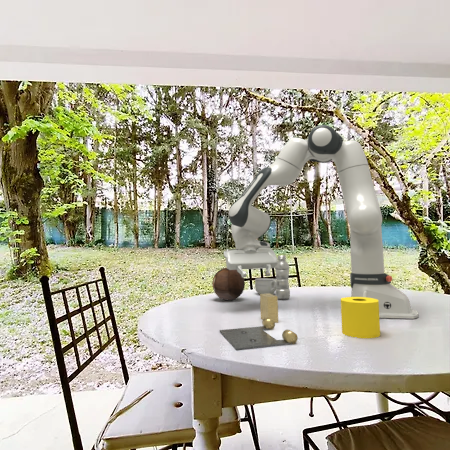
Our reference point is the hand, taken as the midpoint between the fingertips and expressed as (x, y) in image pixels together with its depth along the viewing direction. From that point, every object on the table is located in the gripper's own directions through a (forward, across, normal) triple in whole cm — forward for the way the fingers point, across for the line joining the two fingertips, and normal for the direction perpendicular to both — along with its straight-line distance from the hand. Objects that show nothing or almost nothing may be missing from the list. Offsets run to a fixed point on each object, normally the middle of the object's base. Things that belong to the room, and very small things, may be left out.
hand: (256, 275), depth 124 cm
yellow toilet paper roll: (+35, +18, -15) cm, 42 cm away
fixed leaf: (+30, -11, -11) cm, 34 cm away
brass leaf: (+18, 0, +2) cm, 18 cm away
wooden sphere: (-13, -2, +33) cm, 35 cm away
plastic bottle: (-7, +21, +27) cm, 35 cm away
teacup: (-18, +20, +38) cm, 47 cm away
